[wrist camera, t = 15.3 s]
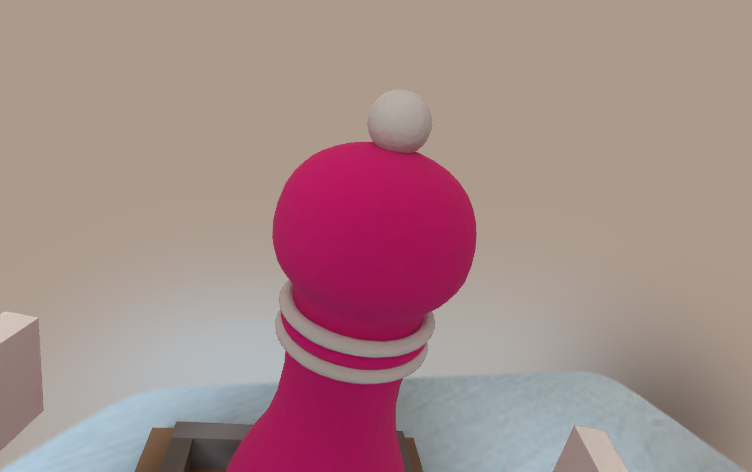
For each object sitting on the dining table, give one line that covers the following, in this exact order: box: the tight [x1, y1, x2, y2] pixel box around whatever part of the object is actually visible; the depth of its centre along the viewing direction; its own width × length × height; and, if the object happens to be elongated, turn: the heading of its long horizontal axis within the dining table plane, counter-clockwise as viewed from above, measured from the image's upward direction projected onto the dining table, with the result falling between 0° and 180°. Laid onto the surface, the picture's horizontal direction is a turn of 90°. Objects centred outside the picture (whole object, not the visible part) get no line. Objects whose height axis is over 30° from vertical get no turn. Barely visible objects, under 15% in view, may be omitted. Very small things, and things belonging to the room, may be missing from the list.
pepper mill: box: [226, 90, 476, 472], centre depth 15 cm, size 7×7×20 cm
